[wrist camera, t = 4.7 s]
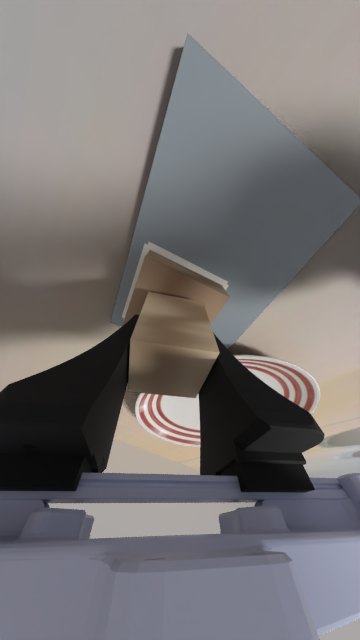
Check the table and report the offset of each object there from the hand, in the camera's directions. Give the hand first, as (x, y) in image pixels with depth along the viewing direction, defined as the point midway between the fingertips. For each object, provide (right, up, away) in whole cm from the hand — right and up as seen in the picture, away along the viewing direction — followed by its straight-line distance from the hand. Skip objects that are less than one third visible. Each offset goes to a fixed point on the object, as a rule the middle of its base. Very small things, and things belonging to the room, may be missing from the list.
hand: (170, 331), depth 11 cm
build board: (+3, +5, +3) cm, 7 cm away
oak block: (0, +1, +1) cm, 1 cm away
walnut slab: (0, +3, +4) cm, 5 cm away
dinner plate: (+7, -13, +15) cm, 21 cm away
